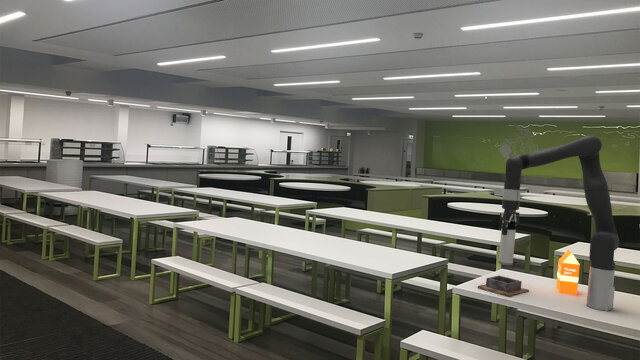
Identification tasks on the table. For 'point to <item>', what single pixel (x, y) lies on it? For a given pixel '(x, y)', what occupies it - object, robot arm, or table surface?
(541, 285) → the table surface
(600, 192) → the robot arm
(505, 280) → the grey tray on board
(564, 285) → the orange juice
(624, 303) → the table surface
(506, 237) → the travel mug
